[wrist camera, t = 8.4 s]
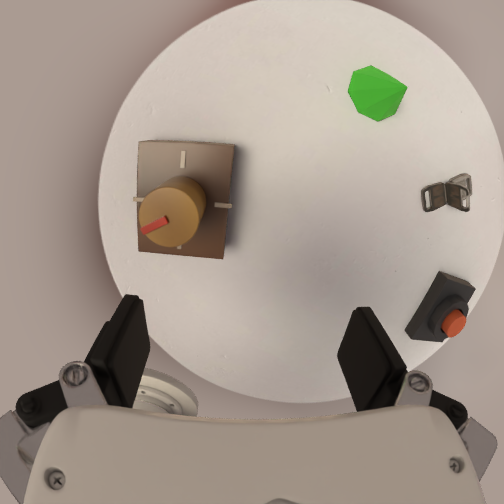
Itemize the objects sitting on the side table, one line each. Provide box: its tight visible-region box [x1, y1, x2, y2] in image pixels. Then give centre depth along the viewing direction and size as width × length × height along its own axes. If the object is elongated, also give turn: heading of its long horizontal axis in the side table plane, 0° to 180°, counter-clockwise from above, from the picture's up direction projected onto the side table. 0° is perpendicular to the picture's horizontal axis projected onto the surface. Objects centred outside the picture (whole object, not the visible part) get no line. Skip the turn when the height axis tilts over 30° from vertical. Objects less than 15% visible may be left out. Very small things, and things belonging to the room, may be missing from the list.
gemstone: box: [348, 66, 408, 121], centre depth 19 cm, size 6×6×6 cm
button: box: [441, 309, 466, 337], centre depth 29 cm, size 4×4×2 cm
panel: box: [133, 140, 235, 259], centre depth 24 cm, size 10×9×3 cm
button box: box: [405, 271, 475, 342], centre depth 31 cm, size 10×8×4 cm
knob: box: [139, 176, 206, 247], centre depth 20 cm, size 4×4×5 cm
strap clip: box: [421, 174, 472, 212], centre depth 24 cm, size 8×3×4 cm, turn 110°
